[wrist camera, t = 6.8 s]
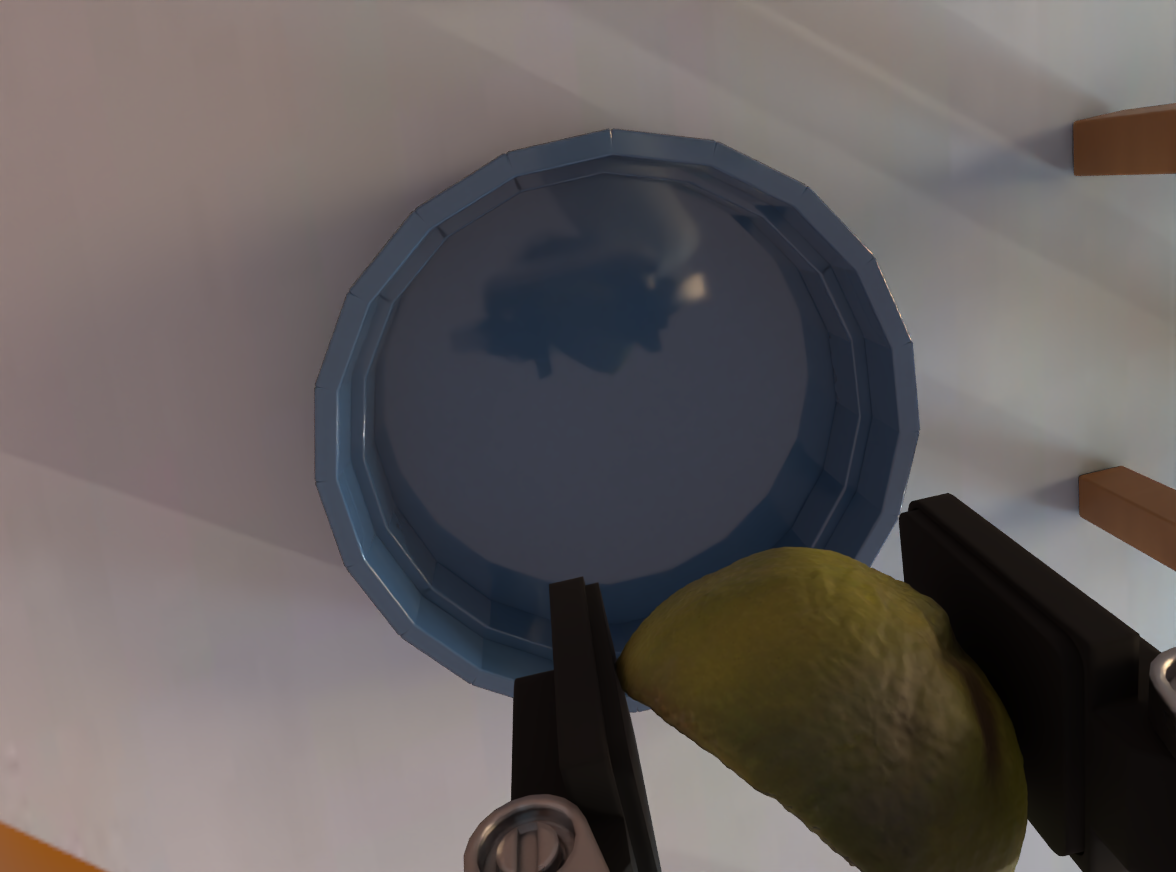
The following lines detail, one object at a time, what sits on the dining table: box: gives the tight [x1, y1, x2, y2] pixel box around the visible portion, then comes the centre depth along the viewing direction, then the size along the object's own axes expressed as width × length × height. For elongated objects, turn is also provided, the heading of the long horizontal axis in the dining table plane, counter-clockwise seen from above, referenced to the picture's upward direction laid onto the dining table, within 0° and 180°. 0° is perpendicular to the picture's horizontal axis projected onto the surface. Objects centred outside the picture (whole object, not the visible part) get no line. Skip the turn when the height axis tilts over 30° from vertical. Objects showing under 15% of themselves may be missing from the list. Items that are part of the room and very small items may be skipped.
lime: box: [615, 547, 1028, 872], centre depth 10 cm, size 4×5×5 cm
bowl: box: [314, 129, 920, 713], centre depth 23 cm, size 16×16×4 cm
